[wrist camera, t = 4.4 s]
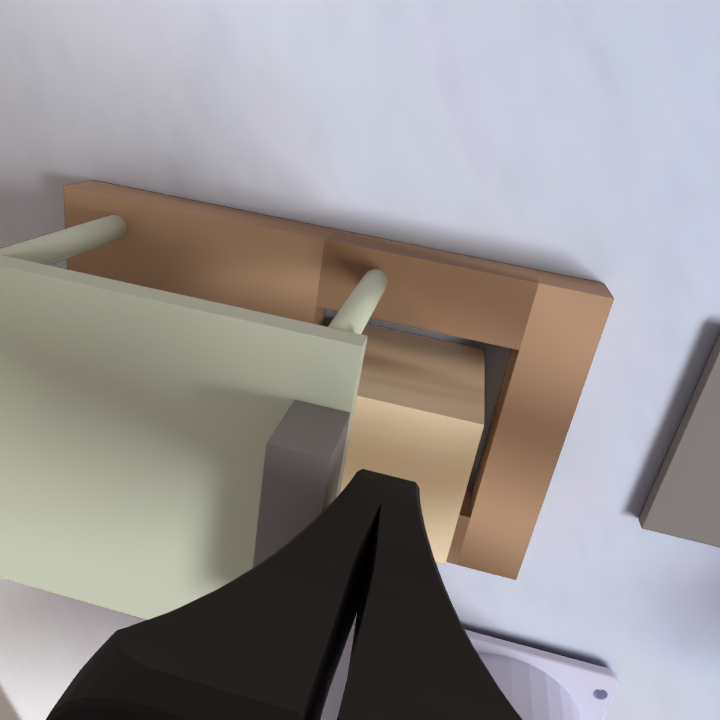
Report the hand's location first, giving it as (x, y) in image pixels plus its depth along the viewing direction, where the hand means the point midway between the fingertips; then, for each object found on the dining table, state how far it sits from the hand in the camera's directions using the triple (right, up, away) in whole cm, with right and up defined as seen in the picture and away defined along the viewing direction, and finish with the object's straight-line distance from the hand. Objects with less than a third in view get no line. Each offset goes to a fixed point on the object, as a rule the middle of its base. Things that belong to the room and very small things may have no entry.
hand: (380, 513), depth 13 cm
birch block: (+1, +2, +7) cm, 8 cm away
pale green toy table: (-4, +3, +6) cm, 8 cm away
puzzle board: (-2, +3, +8) cm, 8 cm away
